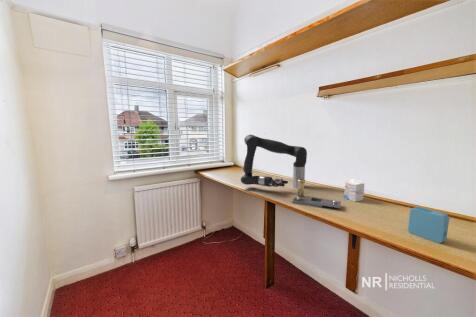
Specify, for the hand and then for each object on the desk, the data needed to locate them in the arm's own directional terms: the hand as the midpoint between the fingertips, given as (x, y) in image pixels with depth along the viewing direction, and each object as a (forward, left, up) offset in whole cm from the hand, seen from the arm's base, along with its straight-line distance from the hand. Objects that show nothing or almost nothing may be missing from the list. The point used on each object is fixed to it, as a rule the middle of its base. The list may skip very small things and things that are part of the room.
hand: (286, 183), depth 152 cm
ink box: (-10, +44, -8) cm, 46 cm away
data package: (+31, +72, -8) cm, 79 cm away
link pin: (0, +11, -8) cm, 13 cm away
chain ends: (+12, +23, -8) cm, 27 cm away
